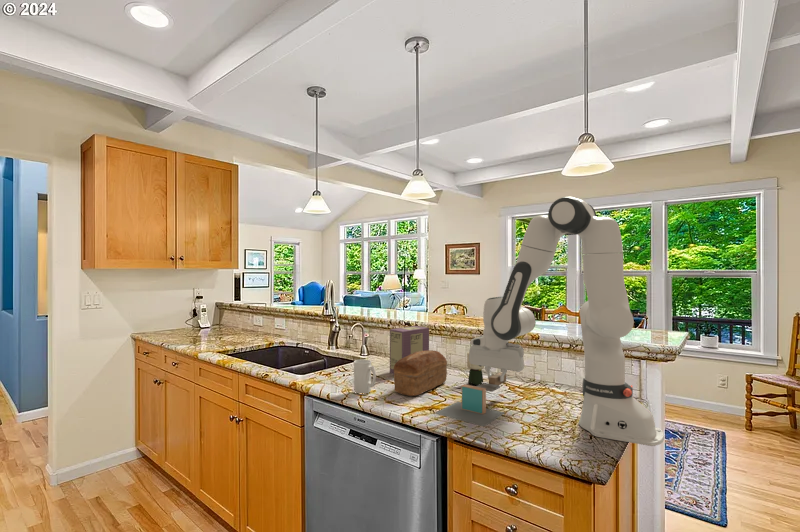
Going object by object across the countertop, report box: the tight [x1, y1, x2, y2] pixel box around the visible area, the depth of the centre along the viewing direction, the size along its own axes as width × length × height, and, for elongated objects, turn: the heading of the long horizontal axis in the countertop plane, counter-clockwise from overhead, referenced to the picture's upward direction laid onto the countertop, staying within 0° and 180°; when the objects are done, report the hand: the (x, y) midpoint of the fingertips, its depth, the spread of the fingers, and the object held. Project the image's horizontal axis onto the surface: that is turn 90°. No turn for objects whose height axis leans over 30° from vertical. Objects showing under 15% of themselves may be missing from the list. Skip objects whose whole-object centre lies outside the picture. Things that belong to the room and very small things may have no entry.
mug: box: [353, 358, 377, 394], centre depth 160 cm, size 10×7×12 cm, turn 53°
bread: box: [393, 349, 448, 397], centre depth 167 cm, size 12×28×14 cm, turn 145°
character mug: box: [466, 351, 485, 386], centre depth 172 cm, size 11×7×13 cm, turn 145°
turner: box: [476, 372, 507, 393], centre depth 148 cm, size 15×6×3 cm, turn 141°
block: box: [461, 384, 487, 414], centre depth 138 cm, size 8×2×8 cm, turn 51°
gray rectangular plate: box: [434, 401, 506, 427], centre depth 136 cm, size 18×15×1 cm
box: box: [389, 325, 430, 375], centre depth 193 cm, size 17×9×20 cm, turn 133°
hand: (495, 380), depth 149 cm, fingers closed on turner, 2 cm apart
